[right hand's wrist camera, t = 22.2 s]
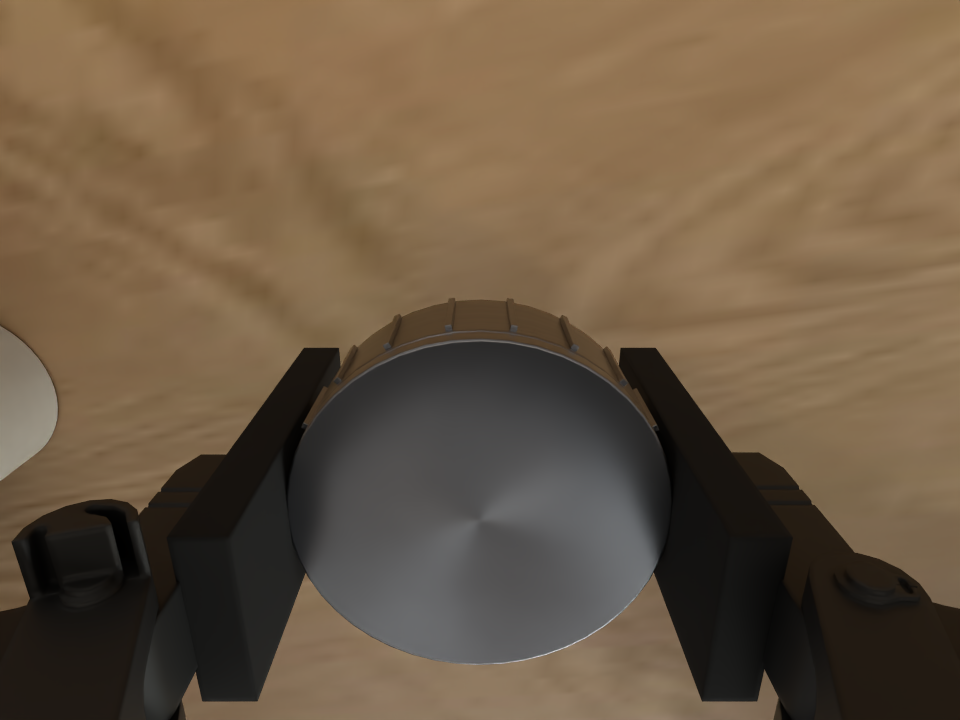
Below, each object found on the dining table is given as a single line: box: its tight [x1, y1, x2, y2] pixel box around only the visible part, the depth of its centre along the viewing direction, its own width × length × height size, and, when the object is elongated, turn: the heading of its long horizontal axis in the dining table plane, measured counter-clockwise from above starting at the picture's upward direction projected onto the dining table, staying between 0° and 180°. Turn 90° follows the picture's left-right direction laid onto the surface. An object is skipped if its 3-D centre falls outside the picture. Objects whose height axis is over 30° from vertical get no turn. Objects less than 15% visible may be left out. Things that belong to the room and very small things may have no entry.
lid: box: [286, 298, 673, 665], centre depth 11 cm, size 6×6×2 cm
